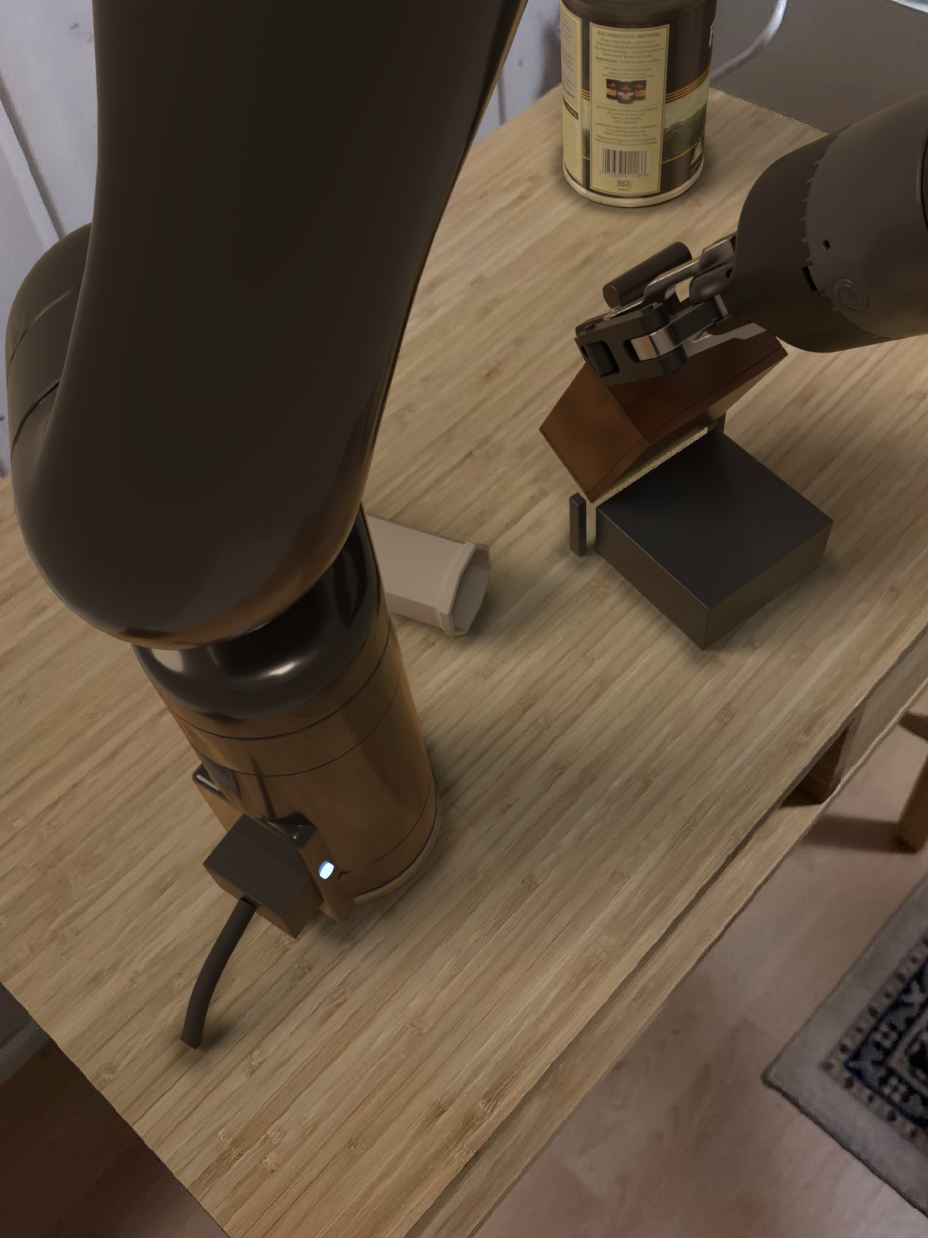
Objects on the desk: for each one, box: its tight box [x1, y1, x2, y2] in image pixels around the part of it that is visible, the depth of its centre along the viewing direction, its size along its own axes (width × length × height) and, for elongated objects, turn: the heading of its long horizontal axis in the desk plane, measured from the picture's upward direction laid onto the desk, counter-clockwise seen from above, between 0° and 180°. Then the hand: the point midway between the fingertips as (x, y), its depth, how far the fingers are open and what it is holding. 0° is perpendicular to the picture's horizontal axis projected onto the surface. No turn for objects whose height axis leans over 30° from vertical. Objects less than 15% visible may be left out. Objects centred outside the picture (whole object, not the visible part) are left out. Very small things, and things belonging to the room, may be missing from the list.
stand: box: [568, 411, 834, 651], centre depth 62 cm, size 10×11×5 cm
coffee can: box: [559, 0, 718, 208], centre depth 78 cm, size 10×10×14 cm
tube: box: [365, 512, 492, 637], centre depth 65 cm, size 5×5×25 cm
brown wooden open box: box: [538, 241, 789, 505], centre depth 58 cm, size 11×9×7 cm
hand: (652, 306), depth 54 cm, fingers closed on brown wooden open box, 7 cm apart
